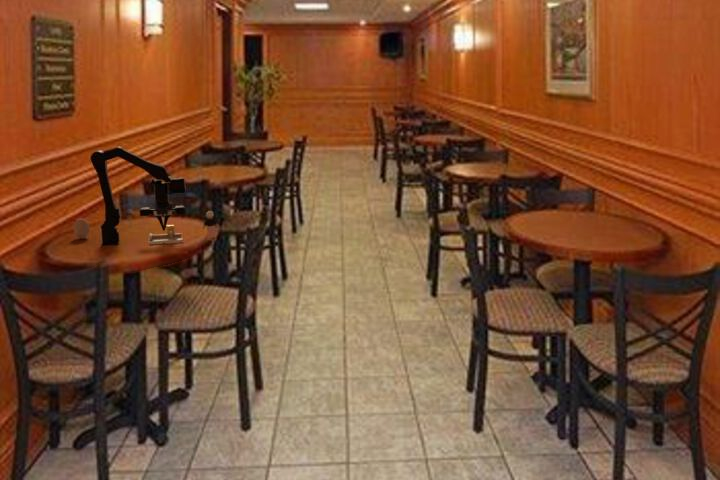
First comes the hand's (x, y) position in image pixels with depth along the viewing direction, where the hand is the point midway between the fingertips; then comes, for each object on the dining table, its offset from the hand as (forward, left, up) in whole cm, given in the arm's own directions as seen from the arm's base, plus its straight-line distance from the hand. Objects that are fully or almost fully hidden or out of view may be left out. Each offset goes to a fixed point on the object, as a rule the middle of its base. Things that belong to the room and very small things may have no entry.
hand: (164, 230), depth 331 cm
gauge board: (0, -1, -5) cm, 5 cm away
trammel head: (+3, -2, -3) cm, 4 cm away
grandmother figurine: (+19, -4, -5) cm, 20 cm away
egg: (-35, +15, -5) cm, 38 cm away
